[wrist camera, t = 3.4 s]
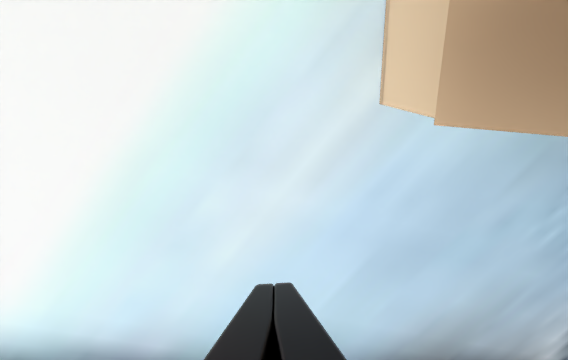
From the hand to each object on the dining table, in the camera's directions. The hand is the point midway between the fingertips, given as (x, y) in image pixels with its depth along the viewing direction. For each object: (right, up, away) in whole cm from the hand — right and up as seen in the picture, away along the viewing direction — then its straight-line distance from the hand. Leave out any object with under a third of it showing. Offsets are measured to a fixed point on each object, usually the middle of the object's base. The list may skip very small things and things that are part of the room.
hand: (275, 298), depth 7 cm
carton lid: (+11, +9, -4) cm, 14 cm away
